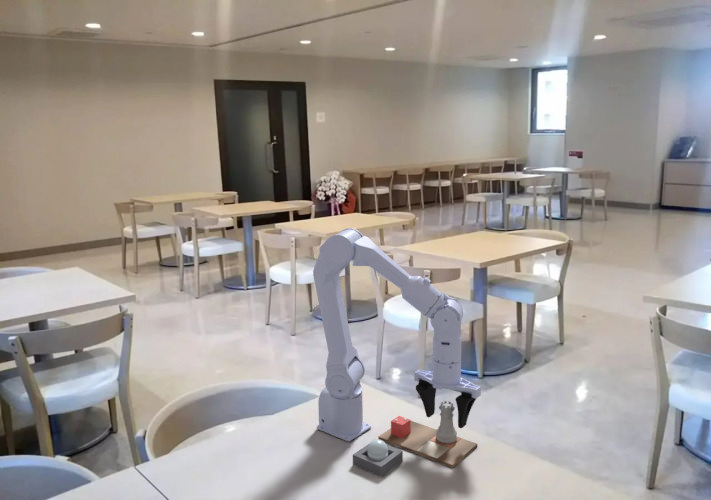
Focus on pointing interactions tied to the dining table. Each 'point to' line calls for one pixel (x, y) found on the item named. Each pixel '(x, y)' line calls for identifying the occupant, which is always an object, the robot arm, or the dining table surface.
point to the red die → (400, 426)
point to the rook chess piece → (446, 424)
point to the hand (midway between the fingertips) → (446, 420)
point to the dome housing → (375, 466)
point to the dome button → (378, 450)
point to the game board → (430, 445)
